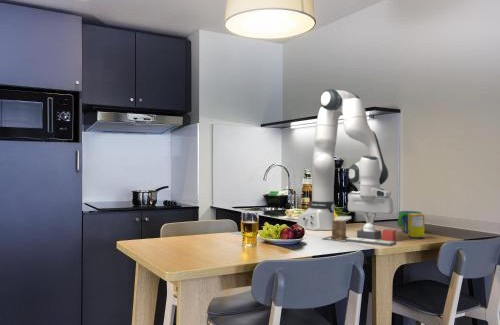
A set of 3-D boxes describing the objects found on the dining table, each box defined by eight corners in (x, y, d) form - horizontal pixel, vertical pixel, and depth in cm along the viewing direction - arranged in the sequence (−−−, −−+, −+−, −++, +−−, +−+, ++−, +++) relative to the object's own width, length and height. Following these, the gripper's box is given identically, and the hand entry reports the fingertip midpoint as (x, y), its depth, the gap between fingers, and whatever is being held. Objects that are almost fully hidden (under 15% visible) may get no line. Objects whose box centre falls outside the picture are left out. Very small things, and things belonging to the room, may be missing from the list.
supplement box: (420, 236, 210) (421, 213, 210) (424, 239, 204) (424, 214, 204) (407, 236, 210) (407, 212, 210) (410, 238, 204) (411, 214, 204)
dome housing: (357, 238, 202) (357, 230, 202) (363, 236, 209) (363, 228, 209) (374, 240, 198) (374, 232, 198) (380, 238, 204) (381, 230, 204)
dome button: (361, 235, 203) (361, 223, 203) (365, 234, 207) (365, 221, 207) (372, 236, 200) (372, 223, 200) (376, 235, 204) (376, 222, 204)
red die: (382, 240, 198) (382, 230, 198) (385, 239, 201) (385, 228, 201) (392, 241, 195) (392, 230, 195) (395, 240, 199) (395, 229, 199)
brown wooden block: (330, 239, 200) (331, 221, 200) (336, 237, 205) (336, 220, 205) (341, 240, 197) (342, 221, 197) (346, 238, 202) (346, 220, 202)
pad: (321, 239, 200) (321, 238, 200) (332, 236, 209) (332, 235, 209) (345, 241, 193) (345, 241, 193) (355, 238, 202) (355, 237, 202)
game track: (344, 241, 195) (344, 239, 195) (352, 238, 202) (352, 236, 202) (389, 246, 184) (389, 243, 184) (396, 243, 190) (396, 241, 190)
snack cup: (405, 235, 215) (405, 213, 215) (390, 232, 225) (390, 211, 225) (430, 233, 222) (430, 212, 222) (414, 230, 231) (414, 210, 231)
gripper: (345, 191, 207) (345, 221, 207) (390, 192, 195) (390, 225, 195) (350, 190, 212) (350, 220, 212) (394, 192, 200) (394, 223, 200)
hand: (369, 222), depth 203 cm, fingers closed
